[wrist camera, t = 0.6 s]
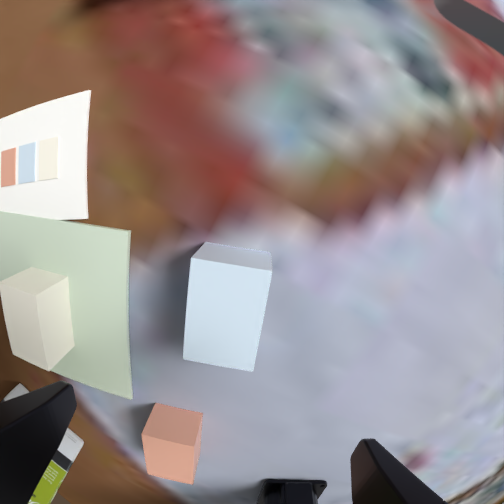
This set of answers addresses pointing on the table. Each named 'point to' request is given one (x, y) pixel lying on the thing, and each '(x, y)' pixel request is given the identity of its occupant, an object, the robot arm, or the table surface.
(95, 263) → the baseplate
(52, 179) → the page
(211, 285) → the brick blue
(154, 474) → the brick rust
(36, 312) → the brick cream
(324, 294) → the table surface
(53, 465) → the tea box
